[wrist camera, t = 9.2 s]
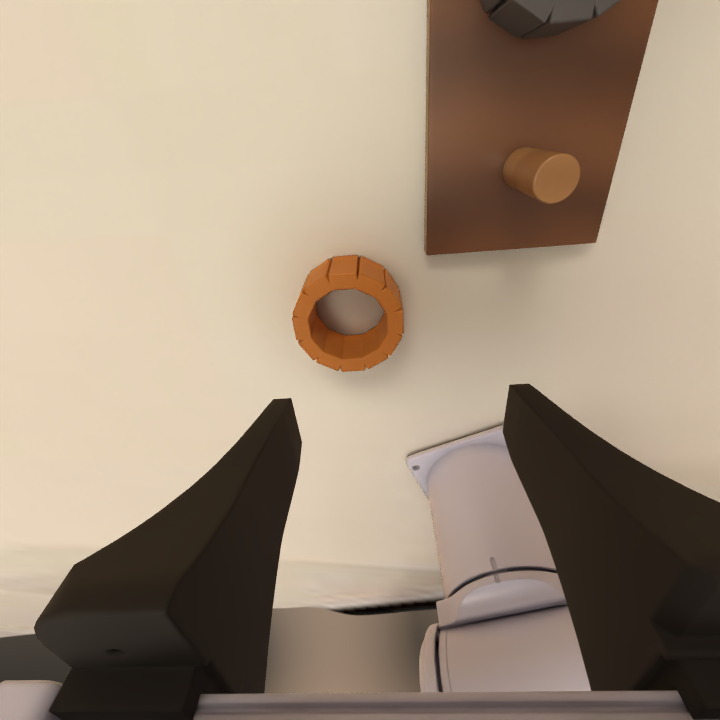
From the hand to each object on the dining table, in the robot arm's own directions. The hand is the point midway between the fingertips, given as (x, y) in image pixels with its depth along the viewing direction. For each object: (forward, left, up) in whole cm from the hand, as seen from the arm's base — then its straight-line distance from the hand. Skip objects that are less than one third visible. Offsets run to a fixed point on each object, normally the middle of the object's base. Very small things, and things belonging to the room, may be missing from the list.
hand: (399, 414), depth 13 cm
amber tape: (+1, +2, -9) cm, 10 cm away
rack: (+7, -9, -9) cm, 15 cm away
